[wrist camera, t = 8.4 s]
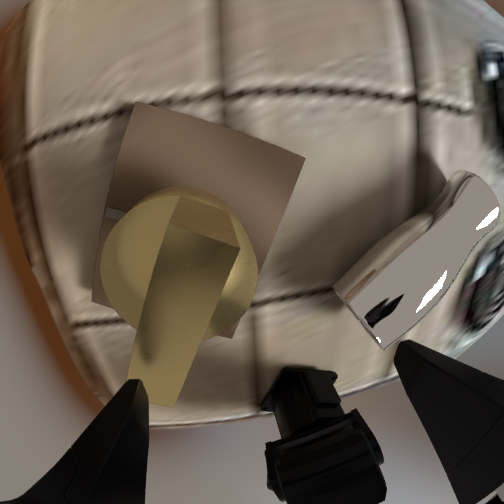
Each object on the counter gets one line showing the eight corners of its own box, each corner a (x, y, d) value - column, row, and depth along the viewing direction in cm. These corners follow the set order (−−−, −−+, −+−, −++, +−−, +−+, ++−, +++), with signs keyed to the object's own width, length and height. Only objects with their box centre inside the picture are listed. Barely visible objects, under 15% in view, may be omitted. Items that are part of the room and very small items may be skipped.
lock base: (230, 327, 23) (236, 365, 18) (97, 291, 20) (78, 325, 15) (298, 156, 18) (324, 162, 14) (141, 104, 15) (122, 94, 11)
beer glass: (468, 228, 22) (366, 332, 24) (435, 170, 22) (322, 276, 23) (515, 232, 15) (396, 367, 17) (481, 159, 15) (344, 298, 16)
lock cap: (138, 167, 13) (81, 193, 6) (268, 214, 15) (319, 275, 8) (104, 304, 15) (65, 391, 9) (214, 337, 17) (224, 432, 11)
